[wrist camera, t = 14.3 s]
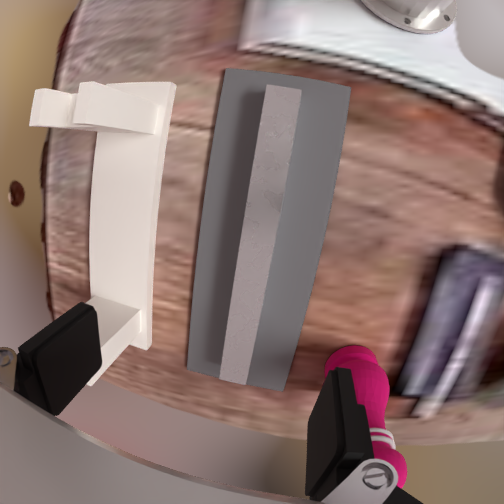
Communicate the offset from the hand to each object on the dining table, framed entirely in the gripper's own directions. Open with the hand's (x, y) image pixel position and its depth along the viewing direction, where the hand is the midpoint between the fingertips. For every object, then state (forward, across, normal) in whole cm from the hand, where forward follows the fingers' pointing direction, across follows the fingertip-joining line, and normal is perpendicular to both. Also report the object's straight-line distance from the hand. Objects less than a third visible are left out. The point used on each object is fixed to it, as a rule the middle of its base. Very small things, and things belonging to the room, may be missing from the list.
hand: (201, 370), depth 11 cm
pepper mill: (+20, -13, +13) cm, 27 cm away
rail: (+20, 0, +1) cm, 20 cm away
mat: (+20, 0, +1) cm, 20 cm away
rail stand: (+20, +15, +1) cm, 25 cm away
